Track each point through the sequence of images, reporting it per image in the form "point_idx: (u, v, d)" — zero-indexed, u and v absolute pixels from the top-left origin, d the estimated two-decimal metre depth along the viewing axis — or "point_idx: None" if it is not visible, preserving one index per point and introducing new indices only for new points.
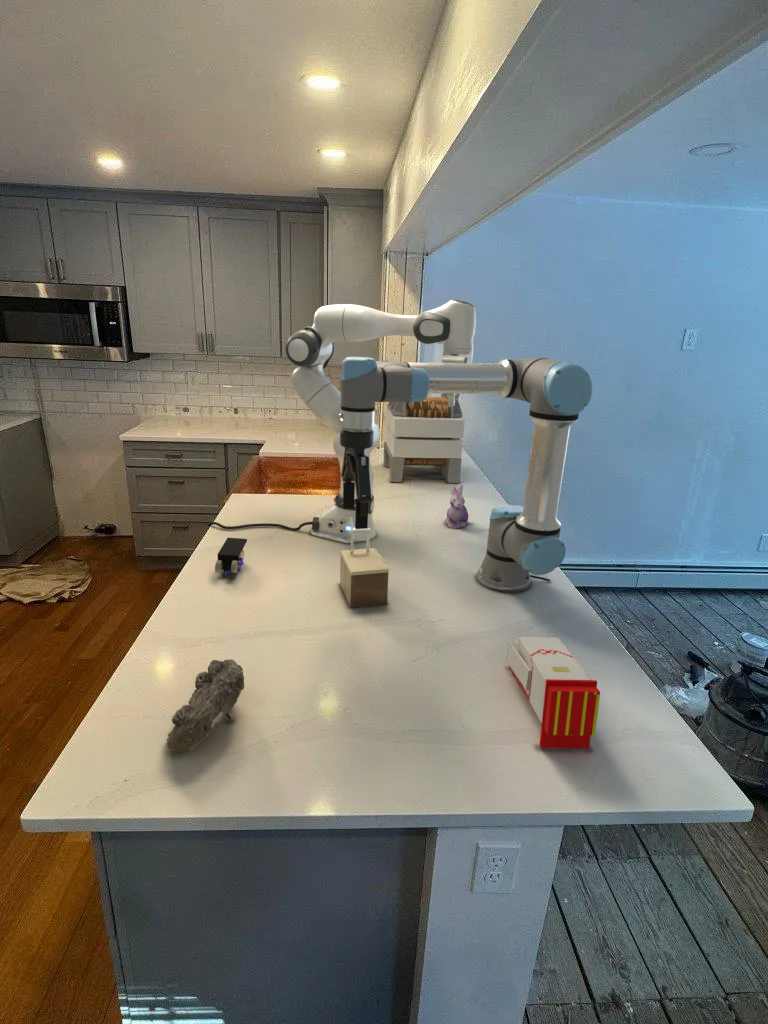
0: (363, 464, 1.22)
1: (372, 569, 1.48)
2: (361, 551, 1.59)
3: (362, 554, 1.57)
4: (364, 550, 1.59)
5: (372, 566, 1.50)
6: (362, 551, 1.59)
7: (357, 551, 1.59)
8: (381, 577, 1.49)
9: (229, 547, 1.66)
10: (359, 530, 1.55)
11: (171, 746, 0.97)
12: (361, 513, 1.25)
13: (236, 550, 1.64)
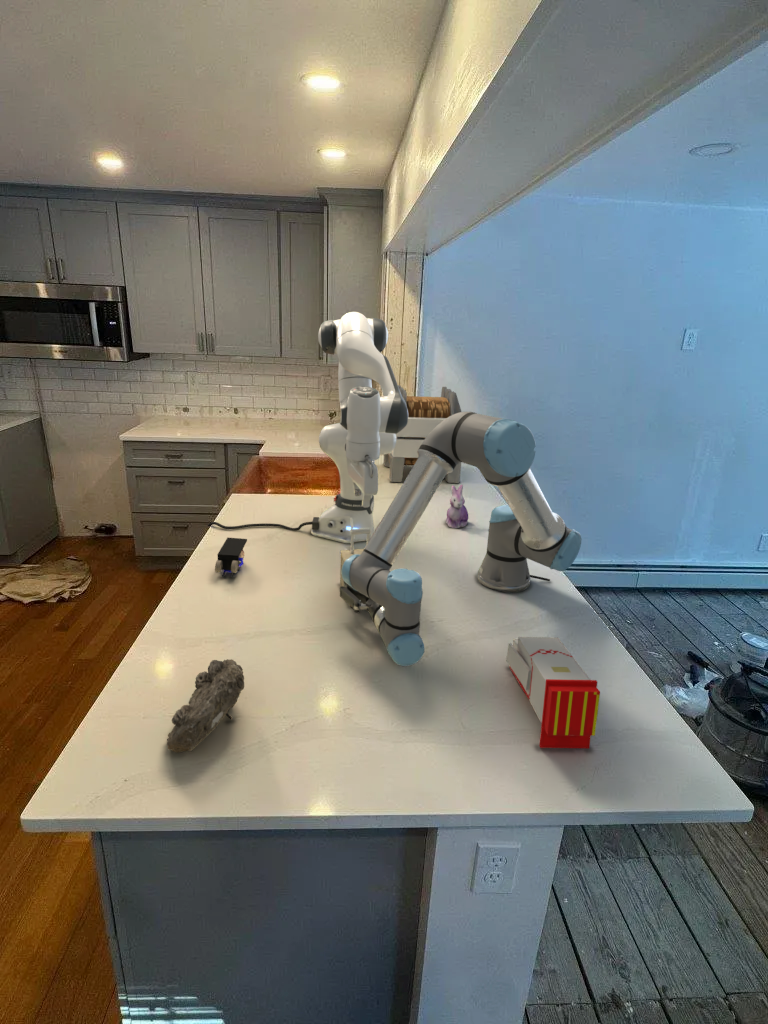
0: None
1: None
2: (361, 551, 1.59)
3: None
4: None
5: None
6: (362, 551, 1.59)
7: (357, 551, 1.59)
8: None
9: (229, 547, 1.66)
10: (359, 530, 1.55)
11: (171, 746, 0.97)
12: None
13: (236, 550, 1.64)
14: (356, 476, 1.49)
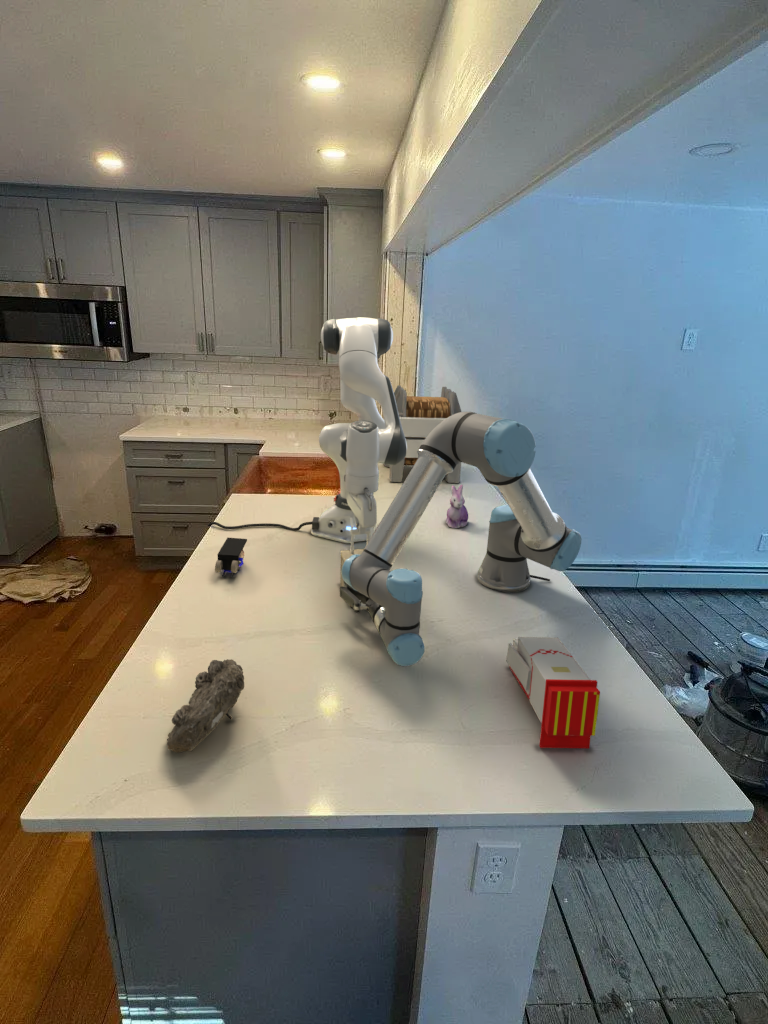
0: None
1: None
2: (361, 551, 1.59)
3: None
4: None
5: None
6: (362, 551, 1.59)
7: (357, 551, 1.59)
8: None
9: (229, 547, 1.66)
10: None
11: (171, 746, 0.97)
12: None
13: (236, 550, 1.64)
14: (355, 507, 1.52)
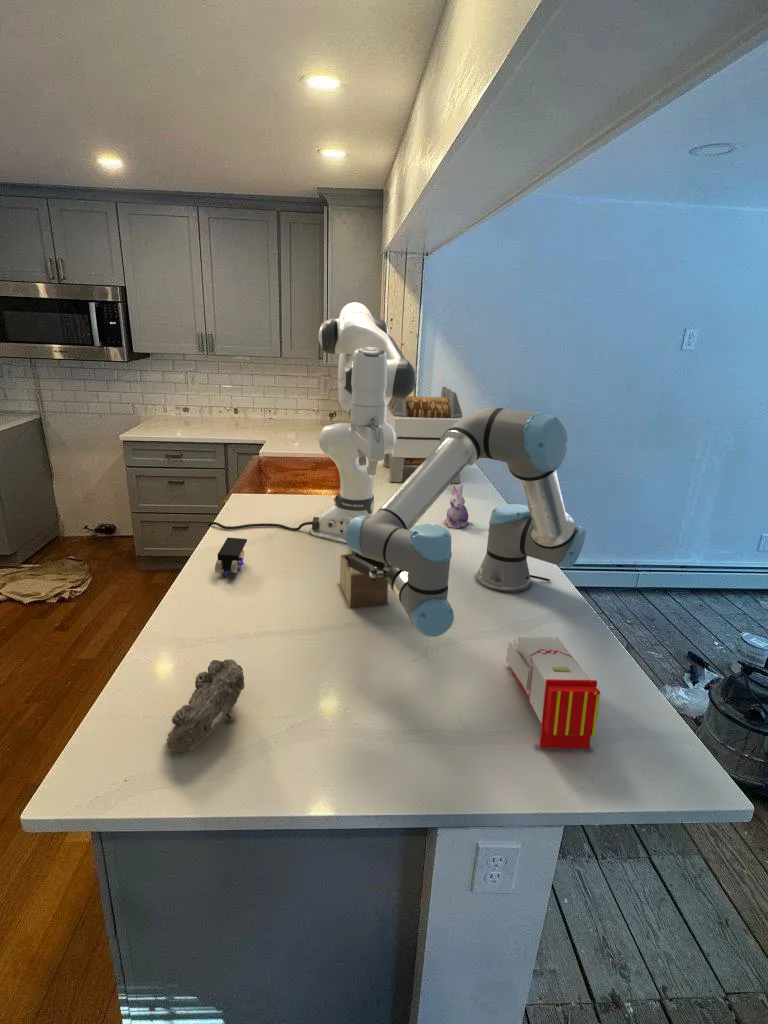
0: None
1: None
2: None
3: None
4: None
5: None
6: None
7: None
8: (381, 577, 1.49)
9: (229, 547, 1.66)
10: None
11: (171, 746, 0.97)
12: None
13: (236, 550, 1.64)
14: (361, 442, 1.41)
